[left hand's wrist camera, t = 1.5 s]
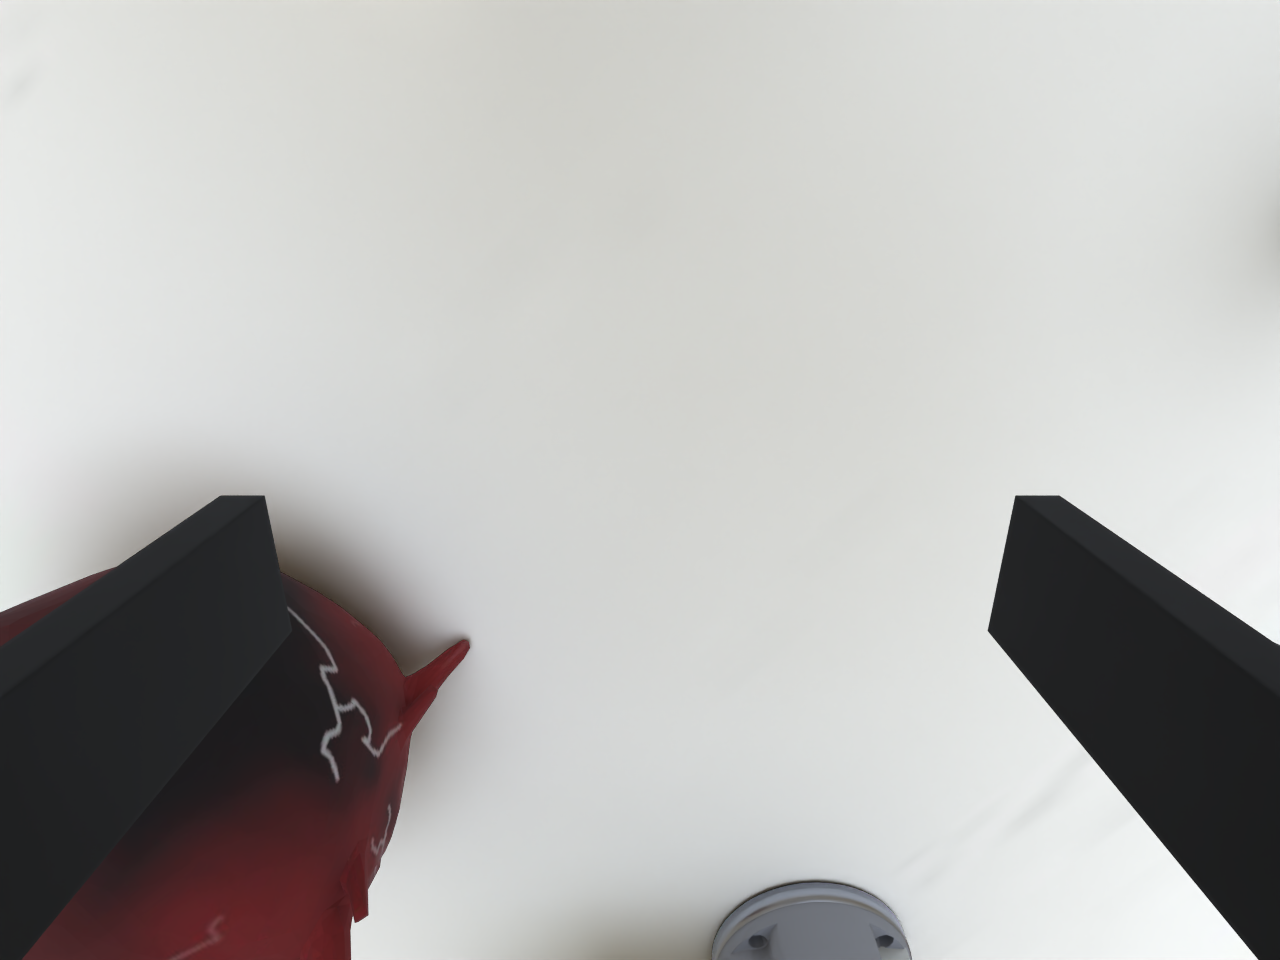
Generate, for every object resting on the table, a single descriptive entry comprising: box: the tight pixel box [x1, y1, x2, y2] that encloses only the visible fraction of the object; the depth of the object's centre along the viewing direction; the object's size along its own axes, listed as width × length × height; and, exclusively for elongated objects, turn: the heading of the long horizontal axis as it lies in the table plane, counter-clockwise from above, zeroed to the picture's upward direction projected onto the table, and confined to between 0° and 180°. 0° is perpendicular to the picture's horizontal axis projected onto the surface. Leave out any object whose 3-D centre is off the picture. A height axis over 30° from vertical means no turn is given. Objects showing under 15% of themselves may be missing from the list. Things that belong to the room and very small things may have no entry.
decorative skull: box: [0, 567, 470, 960], centre depth 38 cm, size 21×24×25 cm
